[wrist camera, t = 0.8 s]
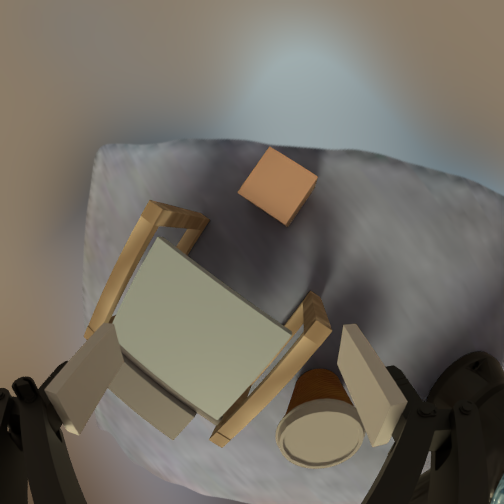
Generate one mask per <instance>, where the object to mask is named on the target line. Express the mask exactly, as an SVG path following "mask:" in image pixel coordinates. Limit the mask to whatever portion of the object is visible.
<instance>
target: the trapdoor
mask: <svg viewBox="0 0 504 504" xmlns="http://www.w3.org/2000/svg"><path fill="white" fill-rule="evenodd" d="M112 324H114V326H115V330H116V334H117V338H118V342H119V345H120V349H121V353H122V356H123V360H124V362H123V364H122V366H121V367H120V369H119V370H118V372H117V373H116V375H115V377H114V378H113V380H112V382H111V383H110V385H109V386H108V388H109V389H110V390H111V391H112V392H113V393H114V394H115V395H116V396H117V397H118V398H120V399H121V400H122V401H123V402H124V403H125V404H127V405H128V406H129V407H130V408H131V409H132V410H134V411H135V412H136V413H137V414H139V415H140V416H141V417H142V418H144V419H145V420H146V421H147V422H149V423H150V424H151V425H153V426H154V427H155V428H157V429H158V430H159V431H161V432H162V433H163V434H165V435H166V436H168V437H169V438H170V439H172V440H174V439H175V438H176V437H177V436H178V435H179V433H180V432H181V431H182V430H183V429H184V428H185V427H186V426H187V425H188V424H189V422H190V421H191V420H192V419H193V418H194V417H195V415H196V414H197V413H198V414H200V415H201V416H203V417H204V418H206V419H207V420H209V421H210V422H212V423H213V424H215V425H216V426H217V425H218V424H219V423H220V421H221V420H222V418H223V416H222V415H223V414H224V413H225V412H226V411H227V410H228V409H229V408H230V407H231V406H232V405H233V403H234V402H235V401H236V400H237V399H238V398H239V397H240V396H241V395H242V394H243V393H244V391H245V390H246V389H247V388H248V387H249V386H250V385H251V384H252V382H253V381H254V380H255V379H256V378H257V377H258V376H259V374H260V373H261V372H262V371H263V370H264V369H265V367H266V366H267V365H268V364H269V363H270V362H271V360H272V359H273V358H274V357H275V356H276V354H277V353H278V352H279V351H280V349H281V348H282V347H283V346H284V345H285V343H286V342H287V341H288V340H289V338H290V337H291V336H292V331H291V330H289V329H288V328H286V327H285V326H283V325H282V324H280V323H279V322H277V321H276V320H275V319H273V318H272V317H270V316H269V315H267V314H266V313H265V312H263V311H262V310H260V309H259V308H258V307H256V306H255V305H253V304H252V303H251V302H249V301H248V300H246V299H245V298H244V297H242V296H241V295H239V294H238V293H237V292H235V291H234V290H232V289H231V288H230V287H228V286H227V285H226V284H224V283H223V282H222V281H220V280H219V279H218V278H216V277H215V276H213V275H212V274H211V273H209V272H208V271H207V270H205V269H204V268H203V267H201V266H200V265H199V264H197V263H196V262H195V261H193V260H192V259H191V258H190V257H188V256H187V255H186V254H184V253H183V252H182V251H180V250H179V249H178V248H176V247H175V246H174V245H173V244H171V243H170V242H169V241H167V240H166V239H165V238H164V237H157V239H156V240H155V242H154V244H153V246H152V248H151V249H150V251H149V253H148V255H147V256H146V258H145V260H144V262H143V264H142V266H141V267H140V269H139V271H138V273H137V275H136V277H135V279H134V281H133V282H132V284H131V286H130V288H129V290H128V292H127V294H126V296H125V298H124V300H123V302H122V304H121V306H120V308H119V310H118V312H117V314H116V316H115V318H114V321H113V323H112Z"/></svg>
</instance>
